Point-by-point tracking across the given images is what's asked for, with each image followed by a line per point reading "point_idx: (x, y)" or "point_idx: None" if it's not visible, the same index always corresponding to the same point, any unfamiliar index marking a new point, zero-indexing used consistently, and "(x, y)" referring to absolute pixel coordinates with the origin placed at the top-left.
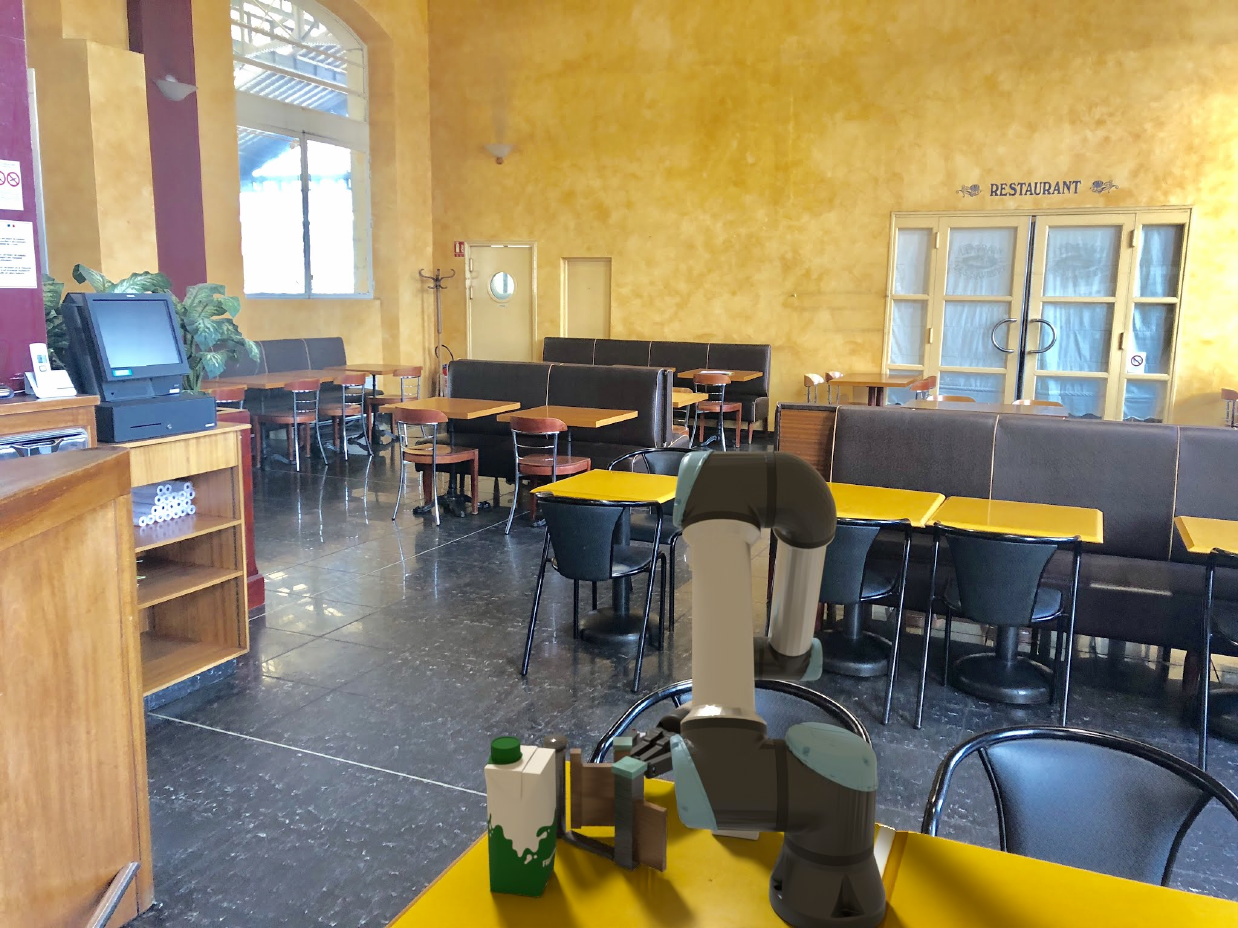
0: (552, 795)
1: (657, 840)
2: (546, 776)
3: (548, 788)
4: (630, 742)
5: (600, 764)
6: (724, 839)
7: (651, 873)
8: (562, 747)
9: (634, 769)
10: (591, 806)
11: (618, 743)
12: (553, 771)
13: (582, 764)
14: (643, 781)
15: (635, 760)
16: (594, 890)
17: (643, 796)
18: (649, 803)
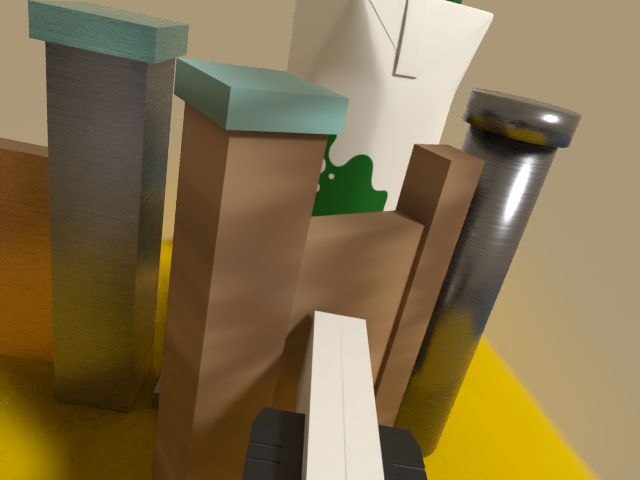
0: (293, 73)
1: None
2: (304, 5)
3: (294, 38)
4: (202, 69)
5: (344, 226)
6: None
7: (16, 364)
8: (466, 108)
9: (81, 4)
10: None
11: (266, 72)
12: (321, 26)
13: (410, 219)
14: (49, 97)
15: (96, 14)
16: (162, 289)
17: (50, 165)
18: (15, 149)
